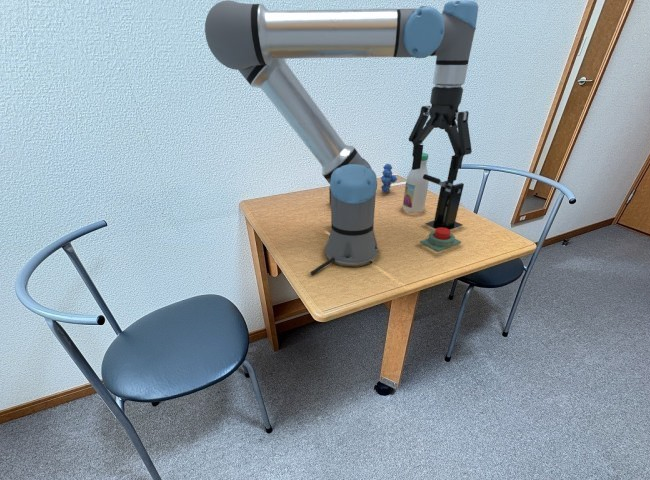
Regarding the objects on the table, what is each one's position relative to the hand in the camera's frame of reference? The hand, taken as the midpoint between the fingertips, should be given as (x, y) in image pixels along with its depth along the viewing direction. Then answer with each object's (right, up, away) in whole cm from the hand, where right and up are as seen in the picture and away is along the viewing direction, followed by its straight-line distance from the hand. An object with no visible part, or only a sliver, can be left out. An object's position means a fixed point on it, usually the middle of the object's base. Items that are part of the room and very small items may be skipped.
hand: (432, 174), depth 93 cm
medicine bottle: (-26, 0, +31) cm, 40 cm away
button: (+4, -17, +4) cm, 18 cm away
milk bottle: (+1, -3, +27) cm, 27 cm away
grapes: (-6, +8, +42) cm, 43 cm away
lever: (+4, -2, +5) cm, 7 cm away
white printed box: (+6, -3, +18) cm, 20 cm away
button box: (+4, -20, +5) cm, 21 cm away
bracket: (+8, -12, +16) cm, 21 cm away
